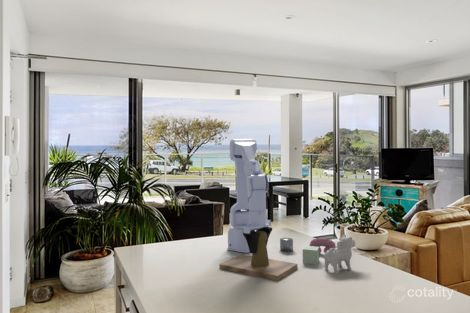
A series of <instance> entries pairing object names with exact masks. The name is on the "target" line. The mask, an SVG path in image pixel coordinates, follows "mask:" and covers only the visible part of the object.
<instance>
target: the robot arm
mask: <svg viewBox="0 0 470 313" xmlns="http://www.w3.org/2000/svg"><path fill="white" fill-rule="evenodd" d="M257 149H258V147H257V140H256V139H255V138H235V139H234V138H231V139H230V140H229V157H230V161H233V162H234V165H235V181H236V184H235V185H236V203H234V204H233V205H231V207H230V210H229V212H230V214H229V222H230V223H229V224H230V227H229V228H228V231H227V247H226V250H227V251H233V252H238V253H239V252H240V253H244V254H247V253H250V254H252V253H253V254H256V252H257V243H258V238H259V236H260V233H256V232H255V231H264V232H266V233H267V240H266V246H268V241H269V238H270V235H271V233H272V231H273V227H271V226H272V220H271V219H267V191H268V190H269V179H268V175H267V173H265V172H263V170H262V168H261V164H260V163H259V161H257V160H256V159H255V158H256V157H255V156H256V153H257Z"/></svg>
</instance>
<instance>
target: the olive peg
mask: <svg viewBox="0 0 470 313" xmlns="http://www.w3.org/2000/svg"><path fill="white" fill-rule="evenodd" d="M255 232H256V233H260V236H259V238H258V243H257V252H256V254H253V253H251V256H252V260H251V265H252V266H255V267H265V266H268V265H269V260H268V259H269V254H268V247H267V246H268V245H267V246H266V240H267V233H266V232H264V231H256V230H255Z"/></svg>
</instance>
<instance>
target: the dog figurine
mask: <svg viewBox="0 0 470 313" xmlns="http://www.w3.org/2000/svg"><path fill="white" fill-rule="evenodd" d="M355 246H356V242H355V240H354V239H353V237H352V236H348V237H347V234H343V235H342V237H341V238H340V240H338V241H337V242H336V248H331V249H329V250H328V251H326V253H324V254H323V259H324V270H325V271H326V272H327V271H329V266H332V267H333V274H339V271H338V267H340V268H341V267H343V264H342V262H343V261H344V264H345V266H346V267H347V268H346V269H347V270H349V269H351V270H352V267H351V259H352V256H353V253H352V249H353V248H355Z"/></svg>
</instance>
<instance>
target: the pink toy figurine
mask: <svg viewBox="0 0 470 313" xmlns="http://www.w3.org/2000/svg"><path fill="white" fill-rule="evenodd" d="M308 246H315V247H319V254H321V253H322V248H321V247H324V248H323V253H324V254H325V253H326V251H328V250H329V249H331V248H336V246H337V244H336V242H334V241H333V240H332V239H329V238H327V237H325V238H324V237H317V238H313V239H312V240H311V241H310V242H309V245H308Z"/></svg>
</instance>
